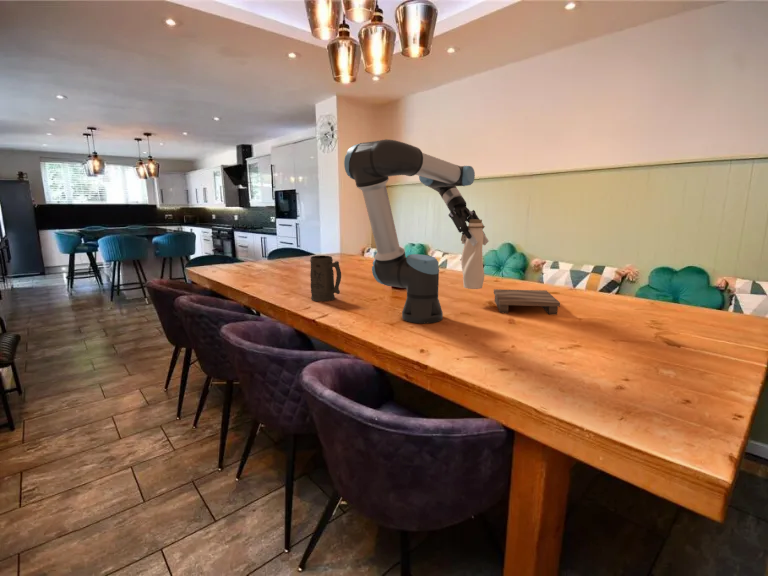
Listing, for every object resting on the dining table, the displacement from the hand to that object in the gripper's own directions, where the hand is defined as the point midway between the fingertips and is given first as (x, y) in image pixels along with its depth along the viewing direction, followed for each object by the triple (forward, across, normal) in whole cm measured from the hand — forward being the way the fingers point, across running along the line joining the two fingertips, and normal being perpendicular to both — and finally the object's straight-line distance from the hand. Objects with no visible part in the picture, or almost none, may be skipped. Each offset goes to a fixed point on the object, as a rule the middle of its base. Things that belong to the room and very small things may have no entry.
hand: (480, 243), depth 156 cm
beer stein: (-14, +46, -53) cm, 72 cm away
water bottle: (+11, 0, -16) cm, 19 cm away
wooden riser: (+27, -14, -10) cm, 32 cm away
